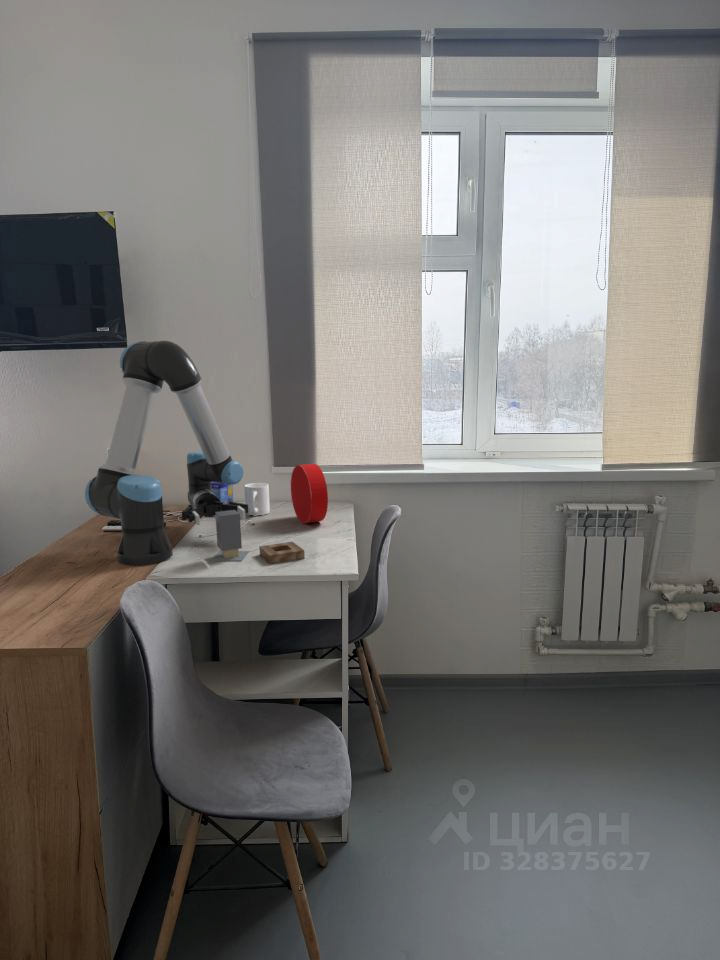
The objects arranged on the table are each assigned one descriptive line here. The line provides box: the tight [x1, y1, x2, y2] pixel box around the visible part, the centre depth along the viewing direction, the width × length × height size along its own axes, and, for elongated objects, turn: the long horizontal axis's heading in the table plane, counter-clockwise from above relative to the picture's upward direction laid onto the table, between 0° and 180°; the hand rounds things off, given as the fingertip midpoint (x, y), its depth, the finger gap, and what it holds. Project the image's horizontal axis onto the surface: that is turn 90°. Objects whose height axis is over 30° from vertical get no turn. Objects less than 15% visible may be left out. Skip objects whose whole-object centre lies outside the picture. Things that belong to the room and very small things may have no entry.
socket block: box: [259, 541, 306, 565], centre depth 188 cm, size 10×10×3 cm
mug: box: [244, 482, 271, 517], centre depth 240 cm, size 9×12×11 cm
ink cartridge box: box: [211, 482, 234, 511], centre depth 244 cm, size 10×6×14 cm, turn 163°
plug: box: [215, 510, 243, 558], centre depth 189 cm, size 6×6×12 cm
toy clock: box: [290, 463, 329, 524], centre depth 228 cm, size 20×6×20 cm, turn 25°
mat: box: [209, 550, 250, 562], centre depth 190 cm, size 9×9×1 cm
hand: (221, 517), depth 196 cm, fingers open, 13 cm apart
